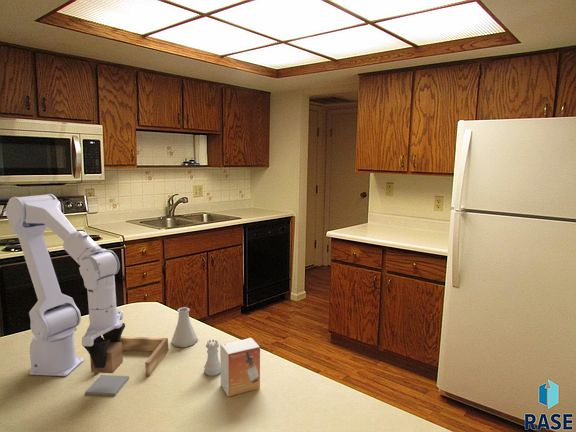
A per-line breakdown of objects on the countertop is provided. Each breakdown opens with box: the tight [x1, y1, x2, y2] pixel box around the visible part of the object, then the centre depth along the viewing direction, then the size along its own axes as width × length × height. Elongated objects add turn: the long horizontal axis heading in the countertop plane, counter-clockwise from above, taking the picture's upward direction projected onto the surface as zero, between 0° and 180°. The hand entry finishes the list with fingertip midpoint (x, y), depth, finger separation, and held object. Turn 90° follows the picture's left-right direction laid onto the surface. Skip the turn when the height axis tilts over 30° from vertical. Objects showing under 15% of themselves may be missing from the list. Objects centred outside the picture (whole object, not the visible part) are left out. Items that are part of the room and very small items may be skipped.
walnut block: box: [89, 342, 124, 374], centre depth 93 cm, size 5×5×5 cm
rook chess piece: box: [203, 339, 221, 377], centre depth 100 cm, size 4×4×8 cm
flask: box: [170, 306, 199, 348], centre depth 115 cm, size 7×7×10 cm
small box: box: [219, 337, 261, 398], centre depth 93 cm, size 8×6×10 cm
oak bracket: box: [94, 335, 169, 377], centre depth 105 cm, size 14×13×4 cm
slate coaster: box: [84, 374, 130, 397], centre depth 94 cm, size 7×7×1 cm
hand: (106, 360), depth 93 cm, fingers closed on walnut block, 5 cm apart
